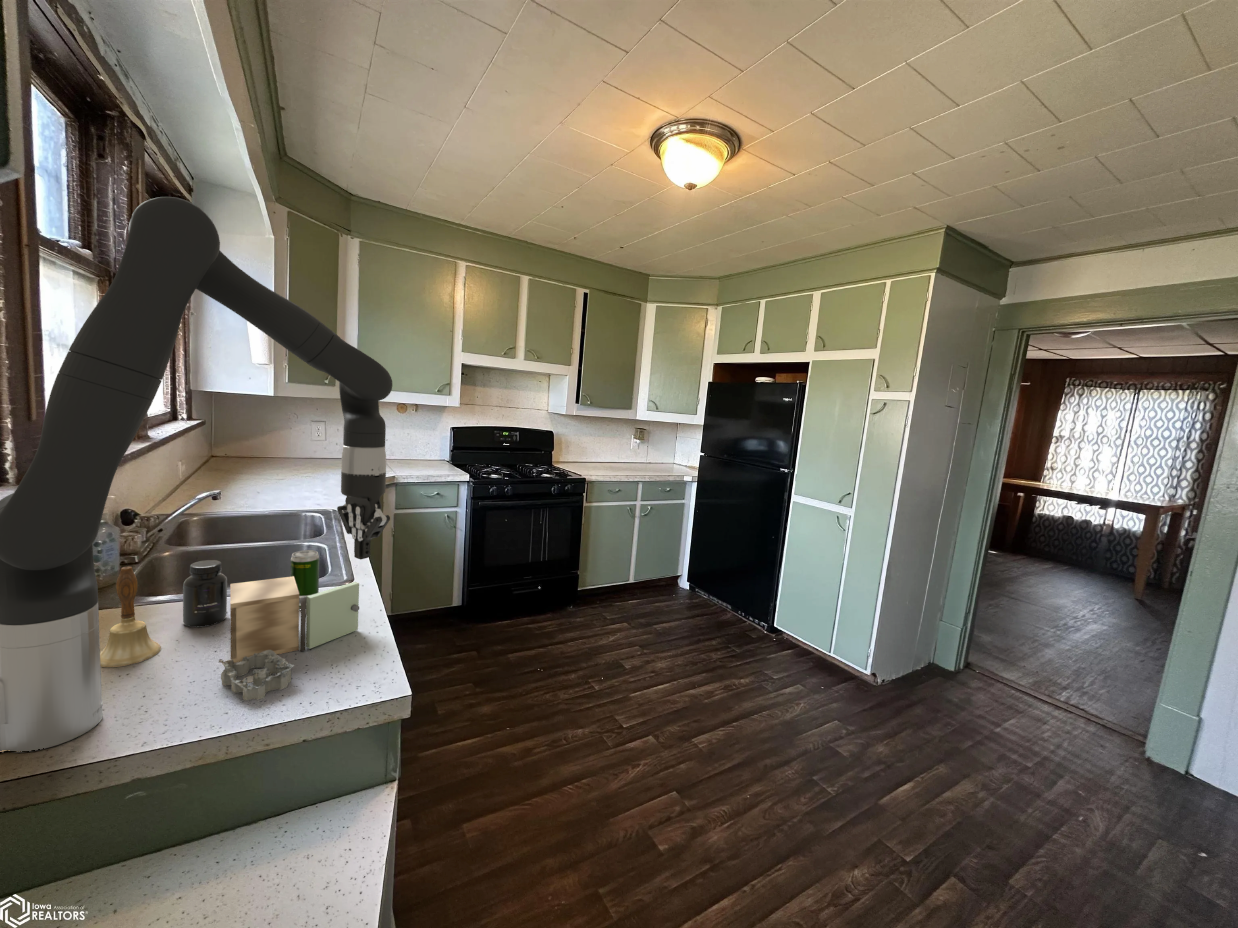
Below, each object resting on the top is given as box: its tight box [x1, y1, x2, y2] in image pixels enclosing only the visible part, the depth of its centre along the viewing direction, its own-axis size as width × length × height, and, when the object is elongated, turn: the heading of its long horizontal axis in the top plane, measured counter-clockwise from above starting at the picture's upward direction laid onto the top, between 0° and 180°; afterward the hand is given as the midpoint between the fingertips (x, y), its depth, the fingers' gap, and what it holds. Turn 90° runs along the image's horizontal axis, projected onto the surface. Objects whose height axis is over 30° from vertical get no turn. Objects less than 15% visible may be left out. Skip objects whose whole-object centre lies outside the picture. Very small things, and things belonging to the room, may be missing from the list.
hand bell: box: [100, 566, 162, 668], centre depth 85 cm, size 8×8×16 cm
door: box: [305, 581, 360, 649], centre depth 96 cm, size 2×10×10 cm, turn 153°
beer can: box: [289, 549, 320, 609], centre depth 110 cm, size 5×5×12 cm
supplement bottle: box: [182, 559, 228, 628], centre depth 99 cm, size 7×7×12 cm
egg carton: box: [218, 650, 295, 701], centre depth 81 cm, size 11×8×4 cm
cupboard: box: [229, 576, 306, 664], centre depth 92 cm, size 11×11×11 cm
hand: (362, 557), depth 95 cm, fingers closed
